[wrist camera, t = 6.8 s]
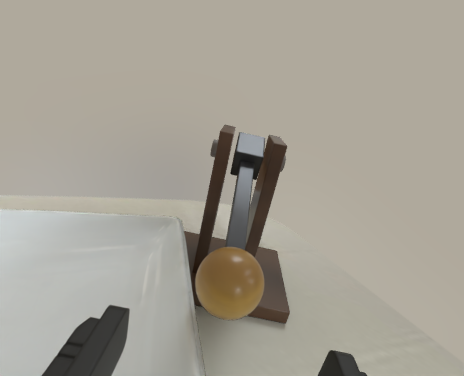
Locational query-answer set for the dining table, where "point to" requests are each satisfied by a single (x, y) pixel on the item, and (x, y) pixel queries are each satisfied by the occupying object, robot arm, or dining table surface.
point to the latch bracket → (203, 243)
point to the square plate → (96, 289)
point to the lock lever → (235, 246)
